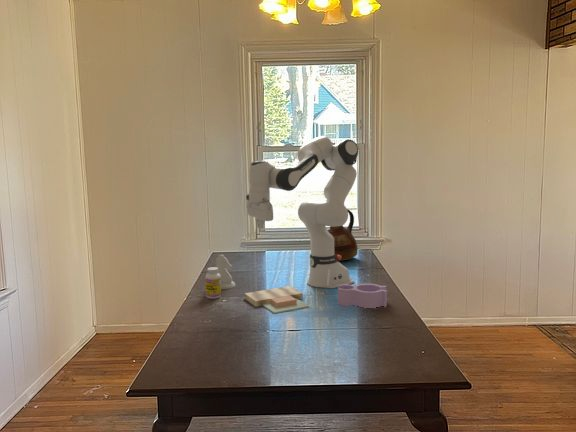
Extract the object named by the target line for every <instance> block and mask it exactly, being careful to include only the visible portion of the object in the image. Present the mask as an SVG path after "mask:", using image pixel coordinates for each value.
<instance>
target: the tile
mask: <svg viewBox="0 0 576 432" xmlns="http://www.w3.org/2000/svg"><path fill="white" fill-rule="evenodd" d="M271 304H272V305H274V306H275V307H277V308H278V307H284V306H289V305H295V304H297V300H296V299H295V298H293V297H292V296H284V297H278V298H272V299H271Z"/></svg>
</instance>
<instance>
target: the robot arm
mask: <svg viewBox="0 0 576 432" xmlns="http://www.w3.org/2000/svg"><path fill="white" fill-rule="evenodd" d="M358 155H359V147H358V144H357V143H356V142H355V141H354V140H352V139H348V138H347V139H343V140H341V141H339V142H337V143H336V144H333V142H332V140H331V139H330V138H329V137H327V136H326V135H325V136H323V135H321V136H318V137H315V138H313V139H311V140H309V141H307V142H306V143H304V144H303V145H302V146H300V147H299V149H298V151H297V160H298V162H299V163H297V164H295V166H292V167H279V166H276V165H272V164H271V163H270V162H269V161H268V160H266V159H259V160H255V161H252V162H251V163H250V165H249V174H248V175H249V176H248V177H249V178H248V179H249V180H248V181H249V184H250V185H249V192H248V194H246V195H245V200H246V209H247V210H246V211H247V212H246V213H247V214H248V216H250V217H252V218H255V221H256V227H257V229H261V230H263V229H264V225H265V222H273V220H274V209H273V208H274V207H273V204H272V203H271V193H270V192H271V191H270V189H276V190H282V191H287V192H291V191H293V190H295V189H296V188H297V187H298V185H299V183H300V182H301V181H302V179H303V178H305V177H306V176H307V175H308V174H310V173H311V172H312V171H313V170H314V169H315V168H316V167H317V166H318V164H319V163H321V164H322V166H323V167H324V168H325V170H327V171H334V172H333V174H332V176H330V179H329V181H328V182H327V183H326V185H325V187H324V189H323V194H324V195H323V196H324V197H325V199H326V200H325V201H317V200H308V201H303V202H301V203H300V205H299V206H298V209H297V216H298V219H299V220H300V221H301V222H302V223H303V224H304V226H305V227H306V230H307V232H308V235H309V239H310V240H309V241H310V253H309V265H310V268H309V273H308V275H309V276H308V279H307V284H308V285H309V286H311V287H315V288H326V289H336V288H338V285H343V284H350V285H352V284H353V283H355V280H354V278H352V277H351V276H350V270H349V269H348V268H347V267H346V266H344V265H343V264H342V263H341V262H340V261H337V259H339V260H340V259H341V257H342V256H341V255H336V254H334V238H333V236H332V235H331V234H330V233H329V232H328V229H327V227H330V226H331V227H336V226H343V227H344V226H345V224H346V223H347V221H348V219H349V213H348V211H347V209H348V208H347V206H346V205H345V201H346V198H347V197H348V195H349V193H350V192H351V190H352V188H353V186H354V184H355V181H356V177H357V175H358V174H357V170H356V168H355V167H354V166H353V165H355V164H357V160H358Z"/></svg>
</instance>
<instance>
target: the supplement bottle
mask: <svg viewBox="0 0 576 432" xmlns="http://www.w3.org/2000/svg"><path fill="white" fill-rule="evenodd" d="M206 270H207V273H206V275H205V297H206V298H207V299H209V300H210V299H211V300H215V299H220V298H221V297H222V289H221V275H220V274H219V273H218V268H217V267H216V266H212V267H210V266H209V267H208V268H207V269H206Z"/></svg>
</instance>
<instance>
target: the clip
mask: <svg viewBox="0 0 576 432" xmlns="http://www.w3.org/2000/svg"><path fill="white" fill-rule="evenodd" d="M387 304H388V290H387V285H379V284H375V283H359V284H343V285H338V287H337V305H339V306H343V307H351V306H350V305H355V306H354V307H357V306H359V307H358V308H360V307H364V308H363V309H366V308H374V309H377V308H376V307H380V306H387V307H388V305H387ZM365 307H366V308H365ZM380 308H381V307H380Z"/></svg>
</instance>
